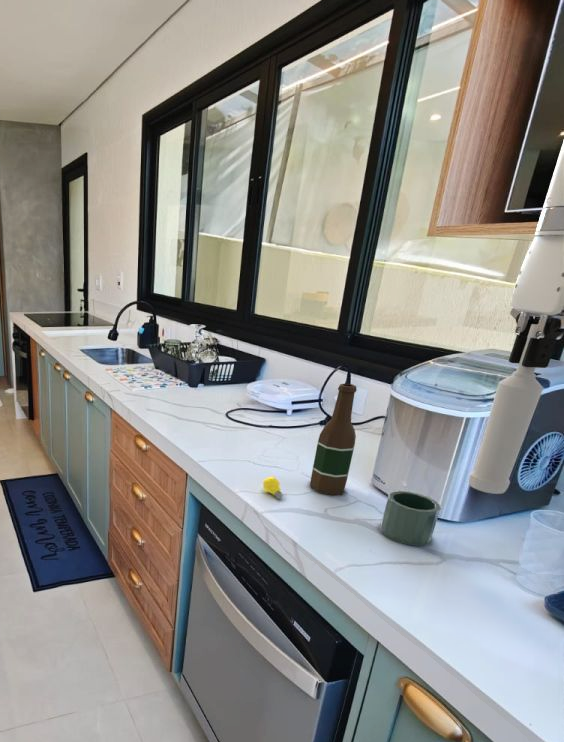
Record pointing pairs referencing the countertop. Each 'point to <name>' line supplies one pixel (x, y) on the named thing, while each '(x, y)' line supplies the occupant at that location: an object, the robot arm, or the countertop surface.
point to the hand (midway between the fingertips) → (527, 364)
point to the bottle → (506, 427)
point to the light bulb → (272, 486)
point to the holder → (410, 518)
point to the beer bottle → (335, 446)
